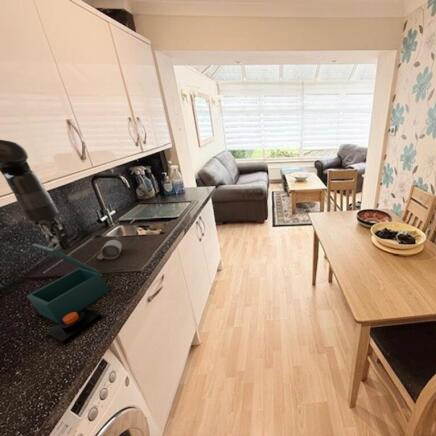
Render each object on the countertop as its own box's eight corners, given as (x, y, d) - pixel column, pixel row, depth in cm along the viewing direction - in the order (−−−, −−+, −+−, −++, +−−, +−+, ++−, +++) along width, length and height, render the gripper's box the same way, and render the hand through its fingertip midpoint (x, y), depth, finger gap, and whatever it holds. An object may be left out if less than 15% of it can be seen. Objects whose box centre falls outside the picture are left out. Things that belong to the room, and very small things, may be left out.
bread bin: (59, 324, 82) (46, 304, 78) (40, 314, 86) (26, 295, 83) (109, 291, 96) (100, 273, 92) (89, 284, 100) (80, 267, 96)
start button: (69, 325, 77) (66, 322, 76) (62, 322, 78) (60, 319, 77) (81, 317, 80) (79, 313, 79) (75, 314, 81) (72, 310, 80)
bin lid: (52, 251, 78) (65, 237, 80) (32, 245, 82) (44, 232, 85) (98, 273, 91) (108, 261, 94) (79, 267, 96) (88, 256, 99)
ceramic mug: (124, 248, 125) (118, 236, 122) (122, 256, 118) (116, 243, 115) (100, 255, 121) (93, 242, 118) (97, 263, 114) (90, 250, 111)
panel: (65, 344, 74) (59, 337, 72) (49, 336, 77) (43, 328, 76) (101, 317, 83) (97, 310, 82) (86, 311, 86) (81, 304, 85)
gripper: (11, 206, 77) (38, 250, 85) (34, 210, 72) (61, 257, 79) (40, 198, 83) (63, 239, 91) (63, 201, 78) (86, 245, 86)
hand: (62, 247), depth 85 cm, fingers closed on bin lid, 5 cm apart
